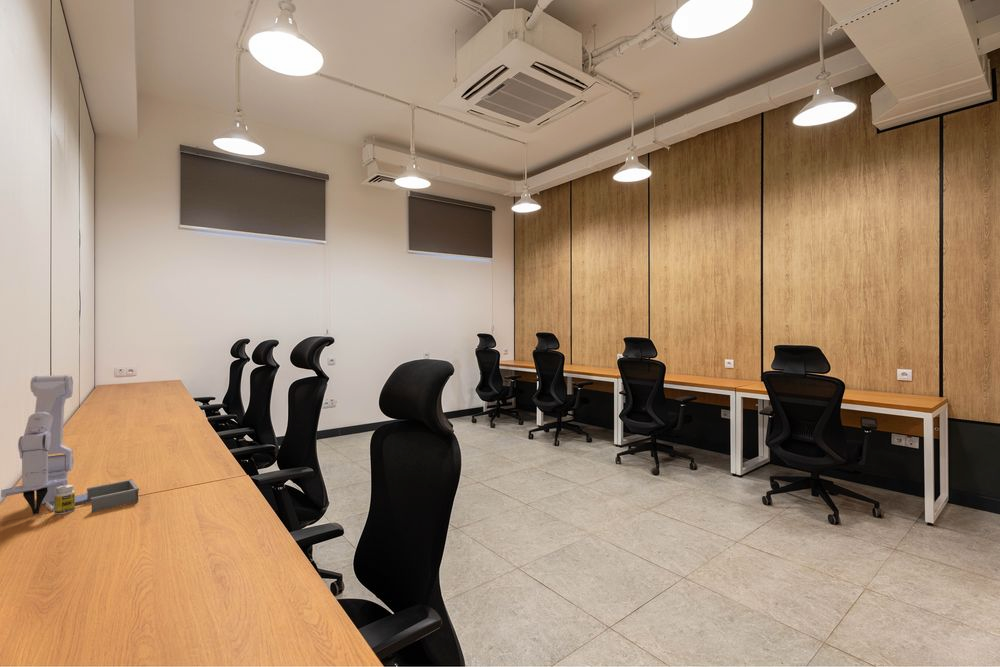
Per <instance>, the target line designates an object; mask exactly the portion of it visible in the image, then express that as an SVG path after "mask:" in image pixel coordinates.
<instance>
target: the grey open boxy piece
mask: <svg viewBox="0 0 1000 667" xmlns="http://www.w3.org/2000/svg"><path fill="white" fill-rule="evenodd" d="M86 491H87V499H90V498H91V503H90V504H91V513H94V512H95V513H96V512H98V511H99V512H100V511H103V510H107V509H112V507H113V508H117V507H116V506H118V507H120V505H122V506H125V505H124V504H127V505H130V504H129V503H131V504H134V503H133V502H135V503H138V502H139V491H140V488H139V487H138V486H137V483H135V482H134V480H133V479H132V478H131V479H125V480H121V481H117V482H112V483H107V484H106V483H105V484H101V485H96V486H91V487H87V488H86ZM137 501H138V502H137Z"/></svg>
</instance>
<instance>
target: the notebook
mask: <svg viewBox="0 0 1000 667" xmlns="http://www.w3.org/2000/svg"><path fill="white" fill-rule="evenodd" d="M90 501H91V498H90V499H87V493H81V494H78V495H75V506H77V504H79V505H83V504H86V502H87V503H90ZM82 503H83V504H82ZM45 506H46V508H47V509H49V510H50V511H51V510H54V511H55V501H51V502H46V504H45Z"/></svg>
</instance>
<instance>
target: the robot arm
mask: <svg viewBox="0 0 1000 667" xmlns="http://www.w3.org/2000/svg"><path fill="white" fill-rule="evenodd" d="M73 387H74V380H73V376H72V375H71V374H60V375H59V374H58V375H57V374H56V375H53V374H52V375H34V376H32V378H31V379H30V392H31V393H32V394H33V396H34V397H35V398H36V401H35V410H34V413H33V414H31V415H30V416H28V419H27V423H26V427H25V430H24V433H23V436H22V435H21V436H20V437H19V439H18V442H17V449H18V452H19V459H20V460H21V485H19V486H18V485H17V486H14V487H10V488H9V487H8V488H4V489H1V490H0V497H1V498H2V499H3V498H7V497H8V496H10V497H11V496H15V495H19V494H23V498H24V499H25V500H26V502H27V504H28V505H29V507H30V509H31V513H32V516H34V515H38V514H40V509H41V506H42V505H46V504H45V503H46V502H51V501H55V494H56V488H57V487H60V486H67V485H68V473H69V472H71V470H73V467H74V462H75V461H74V456H73V454H74V453H73V450H72V449H71V448H70V447H68V446H65V445H64V444H63V442H64V441H63V440H64V439H63V438H64V437H63V436H64V420H65V419H64V416H65V404H66V403H65V402H66V400H67V399H69V398H71V397H72V396H73V391H74V390H73V389H74V388H73ZM35 500H36V501H35ZM35 502H36V503H35Z"/></svg>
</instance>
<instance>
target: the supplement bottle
mask: <svg viewBox="0 0 1000 667" xmlns="http://www.w3.org/2000/svg"><path fill="white" fill-rule="evenodd" d="M75 492H76V491H75V490H74V485H73V484H67V486H60V487H57V488H56V494H55V510H54V515H66V514H69V513H72V512H74V511H75V510H76V508H75V506H76V505H75V496H76V495H75V494H76V493H75Z"/></svg>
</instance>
